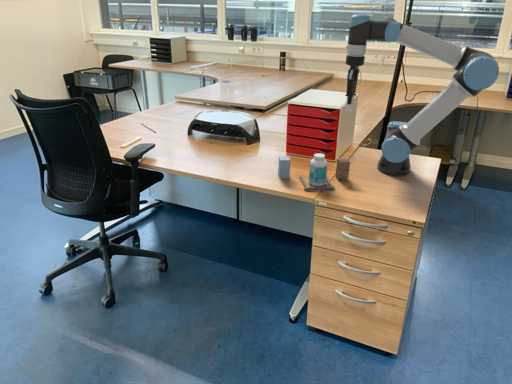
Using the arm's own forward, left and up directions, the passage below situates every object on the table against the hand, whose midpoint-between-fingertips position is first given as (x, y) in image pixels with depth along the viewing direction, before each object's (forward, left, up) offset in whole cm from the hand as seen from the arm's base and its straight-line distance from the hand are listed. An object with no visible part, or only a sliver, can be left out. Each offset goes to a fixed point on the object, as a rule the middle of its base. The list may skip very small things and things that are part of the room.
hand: (348, 110), depth 185 cm
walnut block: (+7, +2, -29) cm, 30 cm away
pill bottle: (+17, -7, -30) cm, 35 cm away
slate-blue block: (+17, -23, -29) cm, 41 cm away
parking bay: (+17, -8, -29) cm, 35 cm away
